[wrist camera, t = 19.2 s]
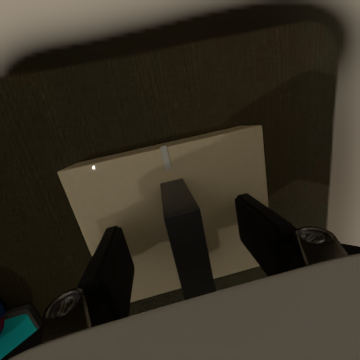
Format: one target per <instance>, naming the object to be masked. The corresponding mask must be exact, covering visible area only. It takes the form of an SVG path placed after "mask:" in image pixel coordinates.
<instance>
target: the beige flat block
mask: <svg viewBox="0 0 360 360" xmlns="http://www.w3.org/2000/svg"><path fill="white" fill-rule="evenodd" d="M57 173H58V176H59V178H60V180H61V183H62V185H63V188H64V190H65V192H66V195H67V197H68V200H69V202H70V205H71V207H72V209H73V212H74V214H75V217H76V219H77V222H78V224H79V226H80V229H81V231H82V234H83V236H84V239H85V241H86V243H87V246H88V248H89V251H90V253H91V255H92V256H93V255H94V253H95V251H96V249H97V247H98V245H99V243H100V241H101V238H102V236H103V234H104V232H105V230H106V228H109V227H113V226H118V228H119V227H121V228H122V230H123V233H124V236H125V239H126V242H127V245H128V248H129V251H130V254H131V257H132V260H133V263H134V268H135V272H134V279H133V286H132V293H131V301H130V302H134V301H137V300H141V299H144V298H148V297H151V296H155V295H158V294H162V293H165V292H169V291H173V290H176V289H180V288H181V284H180V280H179V276H178V272H177V268H176V265H175V261H174V257H173V253H172V249H171V245H170V241H169V237H168V234H167V230H166V226H165V222H164V218H163V208H162V198H161V188H160V184H161V183H165V182H169V181H173V180H177V179H181V178H183V180H184V182H185V183H186V185H187V187H188V189H189V190H190V192H191V194H192V196H193V197H194V199H195V201H196V203H197V204H198V206H199V208H200V211H201V216H202V221H203V227H204V232H205V237H206V242H207V247H208V253H209V258H210V263H211V268H212V273H213V279H215V278H219V277H222V276H226V275H229V274H233V273H236V272H240V271H243V270H247V269H250V268H254V267H258V266H260V265H259V264H258V263H257V261H256V260H255V259H254V257H253V256H252V255H251V253H250V252H249V251H248V250H247V248H246V247H245V246H244V244H243V243H242V242H241V240H240V236H239V229H238V221H237V214H236V207H235V198H237V196H238V195H241V194H245V193H248V194H249V195H251V196H252V197H254V198H255V199H256V200H258V201H259V202H261V203H262V204H264V205H265V206H267V207H268V208H269V206H268V194H267V182H266V170H265V158H264V145H263V133H262V126H261V125H254V126H237V127H233V128H229V129H224V130H220V131H215V132H211V133H207V134H202V135H198V136H193V137H189V138H185V139H180V140H176V141H171V142H167V143H162V144H158V145H154V146H149V147H145V148H140V149H136V150H132V151H127V152H123V153H118V154H114V155H110V156H105V157H101V158H96V159H92V160H87V161H83V162H79V163H76V164H74V165H72V166H70V167H67V168H65V169H63V170H60V171H58V172H57Z"/></svg>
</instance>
